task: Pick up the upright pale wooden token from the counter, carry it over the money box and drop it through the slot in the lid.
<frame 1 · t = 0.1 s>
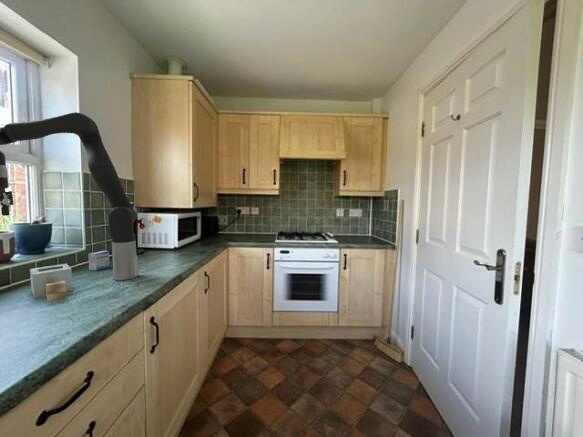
money box: (52, 290, 102), on the counter
medicine box: (99, 268, 134), on the counter
token: (56, 299, 94), on the counter
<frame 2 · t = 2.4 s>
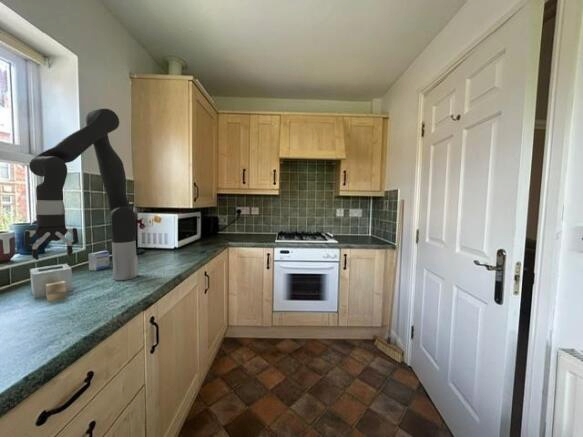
hand: (53, 257, 93), 16 cm above the counter, tool pointing down, fingers open, 8 cm apart
nothing on the counter moved.
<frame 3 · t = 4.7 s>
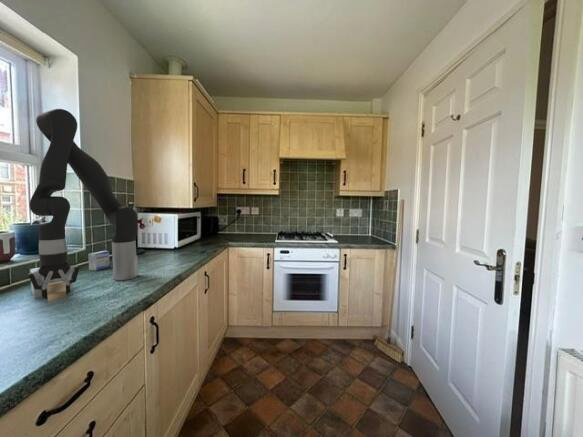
hand: (56, 296, 94), 1 cm above the counter, tool pointing down, fingers closed on token, 5 cm apart
token: (56, 299, 94), on the counter, touching gripper
everything else where it was.
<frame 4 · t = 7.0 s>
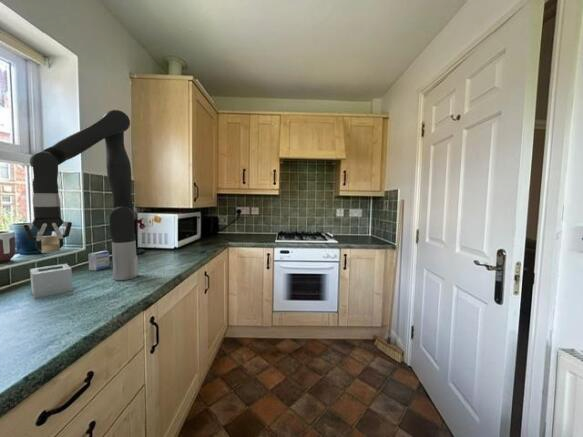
hand: (50, 249, 99), 17 cm above the counter, tool pointing down, fingers closed on token, 5 cm apart
token: (50, 251, 99), point 16 cm above the counter, touching gripper
everything else where it was.
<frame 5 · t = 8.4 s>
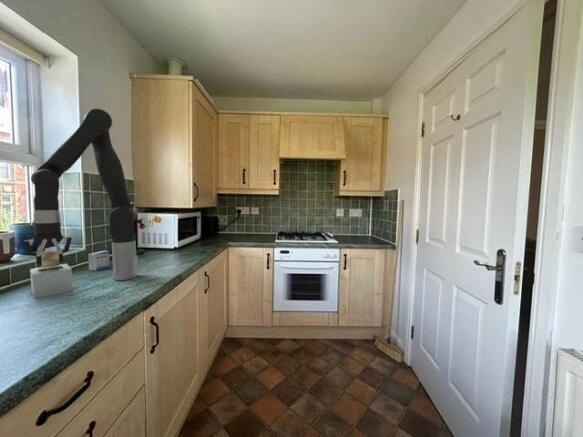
hand: (50, 263, 101), 11 cm above the counter, tool pointing down, fingers closed on token, 5 cm apart
token: (50, 266, 101), point 10 cm above the counter, touching gripper
everything else where it was.
when the fingers open (10 cm above the counter, at t = 9.3 s): token drops 9 cm, resting on money box.
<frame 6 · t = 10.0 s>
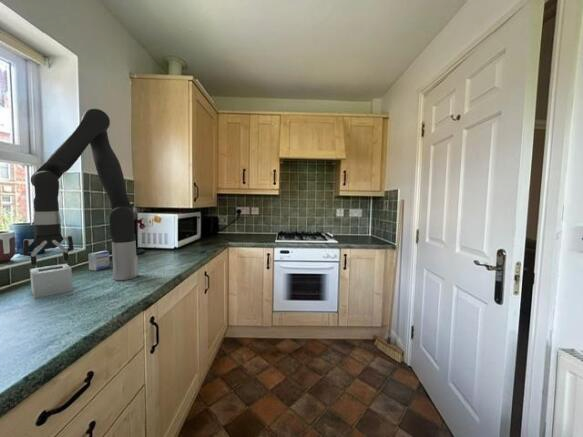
hand: (50, 263, 101), 11 cm above the counter, tool pointing down, fingers open, 8 cm apart
token: (52, 289, 102), point 1 cm above the counter, touching money box
everything else where it was.
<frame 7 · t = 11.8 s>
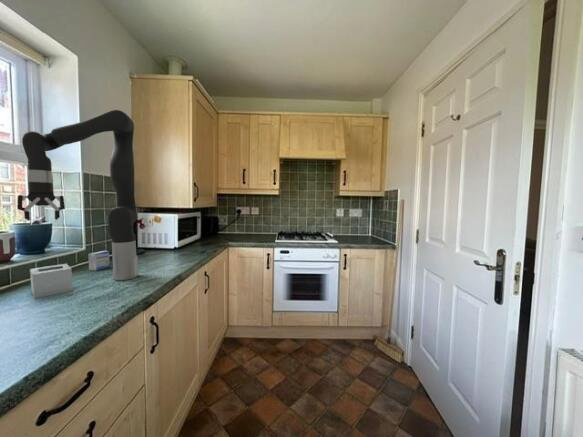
hand: (42, 219, 108), 28 cm above the counter, tool pointing down, fingers open, 8 cm apart
nothing on the counter moved.
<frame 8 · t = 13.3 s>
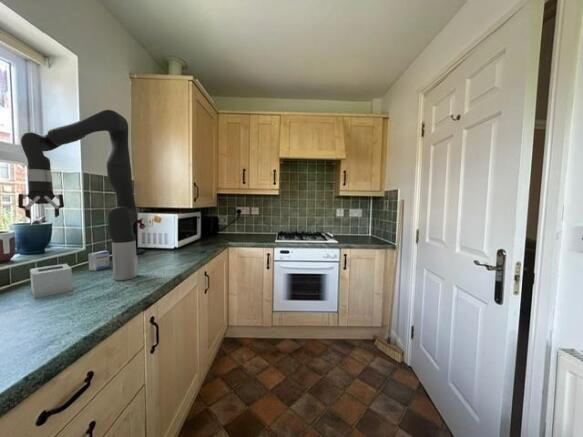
hand: (43, 217, 112), 28 cm above the counter, tool pointing down, fingers open, 8 cm apart
nothing on the counter moved.
at the end: token inside the target area on the money box (0.0 cm from its centre), point 0.6 cm above the money box's base; the gripper is holding nothing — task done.
